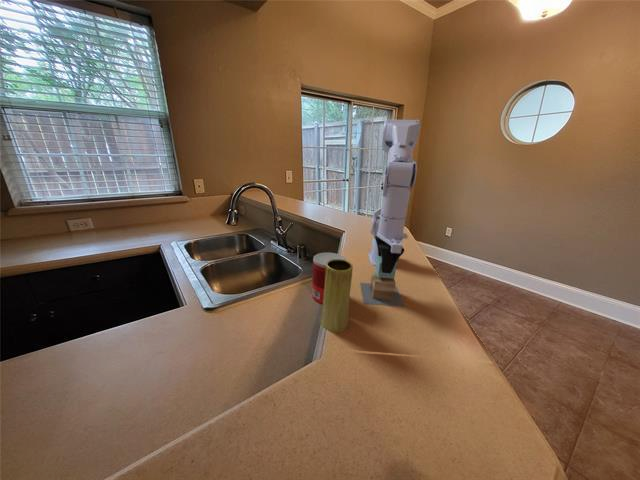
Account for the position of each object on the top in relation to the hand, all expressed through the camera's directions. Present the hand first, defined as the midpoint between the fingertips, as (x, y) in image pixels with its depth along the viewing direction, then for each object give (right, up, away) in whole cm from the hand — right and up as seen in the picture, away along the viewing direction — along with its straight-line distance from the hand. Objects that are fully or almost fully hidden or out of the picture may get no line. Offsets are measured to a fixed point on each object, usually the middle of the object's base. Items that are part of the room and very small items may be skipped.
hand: (384, 268), depth 62 cm
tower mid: (0, -5, +2) cm, 5 cm away
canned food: (-15, -8, +1) cm, 16 cm away
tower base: (0, -7, +3) cm, 8 cm away
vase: (-13, -11, -9) cm, 19 cm away
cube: (0, -2, +1) cm, 2 cm away
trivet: (0, -7, +3) cm, 8 cm away
